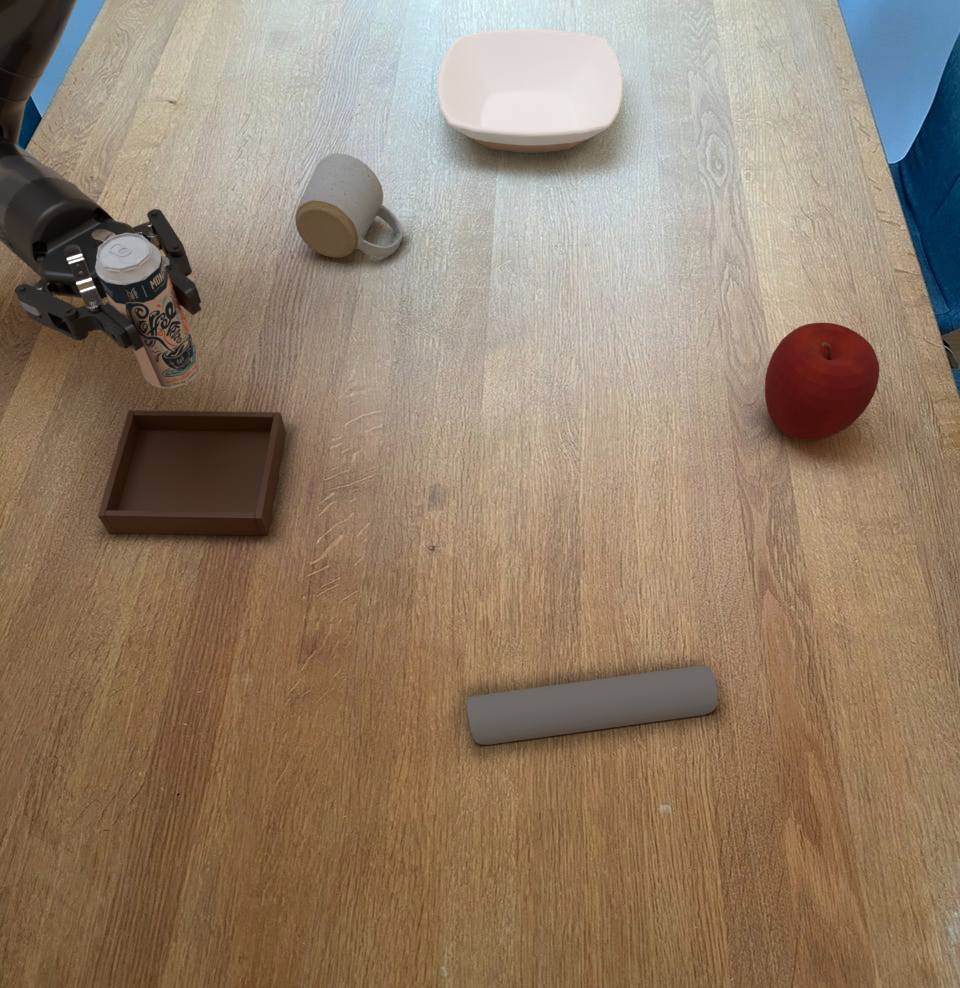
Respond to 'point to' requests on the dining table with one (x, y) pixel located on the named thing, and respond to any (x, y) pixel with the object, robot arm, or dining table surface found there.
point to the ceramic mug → (343, 209)
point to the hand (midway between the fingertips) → (165, 321)
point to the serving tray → (194, 473)
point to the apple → (820, 380)
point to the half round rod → (591, 705)
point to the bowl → (530, 88)
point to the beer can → (148, 308)
